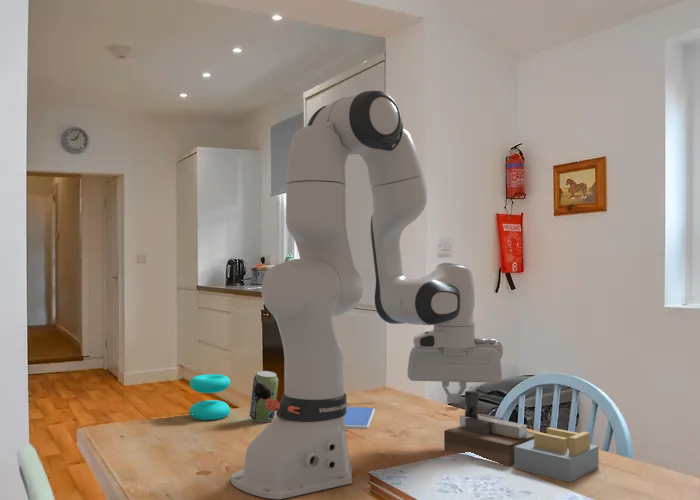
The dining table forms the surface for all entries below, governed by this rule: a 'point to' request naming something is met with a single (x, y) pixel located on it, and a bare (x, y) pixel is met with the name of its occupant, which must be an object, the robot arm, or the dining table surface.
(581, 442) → the stacked blocks
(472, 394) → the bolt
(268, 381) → the beverage can
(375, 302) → the robot arm
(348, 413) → the tablet computer
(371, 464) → the dining table surface
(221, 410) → the donuts
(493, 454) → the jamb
